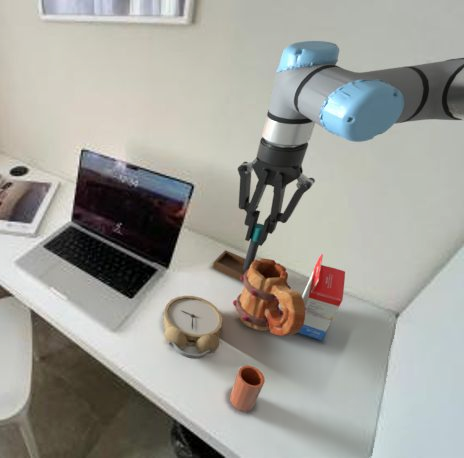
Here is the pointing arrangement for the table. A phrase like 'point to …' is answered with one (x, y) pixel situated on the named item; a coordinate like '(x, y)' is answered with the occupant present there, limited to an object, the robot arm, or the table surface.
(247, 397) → the pen pot
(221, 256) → the pen tray
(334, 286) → the ink box
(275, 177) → the robot arm
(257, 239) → the marker
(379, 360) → the table surface
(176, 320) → the alarm clock
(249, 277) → the mug
